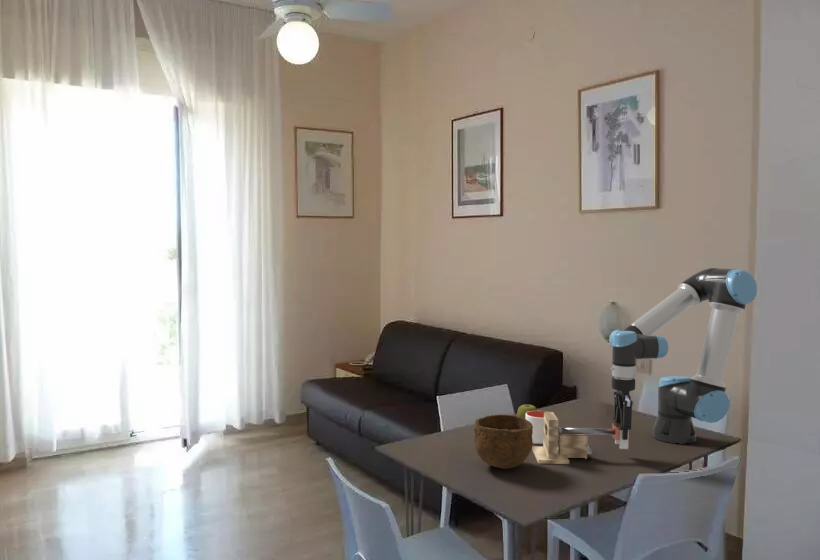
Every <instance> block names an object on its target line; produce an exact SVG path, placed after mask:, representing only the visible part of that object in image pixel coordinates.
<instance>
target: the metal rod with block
mask: <svg viewBox="0 0 820 560" xmlns="http://www.w3.org/2000/svg"><path fill="white" fill-rule="evenodd" d="M619 428H621V424H618V423H615V422H613V423H611V428H603V427H602V428H601V427H600V428H597V427H596V428H595V427H561V426H558V435H559V434H586V435H603V436H604V435H605V436H606V435H607V436H608V435H609V436H611V437H612V438H613V439H614V441H615V440H620V430H619ZM628 441H630V437H629V438H628Z"/></svg>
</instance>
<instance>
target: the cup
mask: <svg viewBox="0 0 820 560" xmlns="http://www.w3.org/2000/svg"><path fill="white" fill-rule="evenodd" d="M544 412H547V411H545V410H537V411H529V412H526V418H525V419H526V420H528V421H530V422H531V423H532V426H533V428H532V430H533V434H532V441H533V443H532V445H533V444H535V445H543V436H544Z"/></svg>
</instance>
